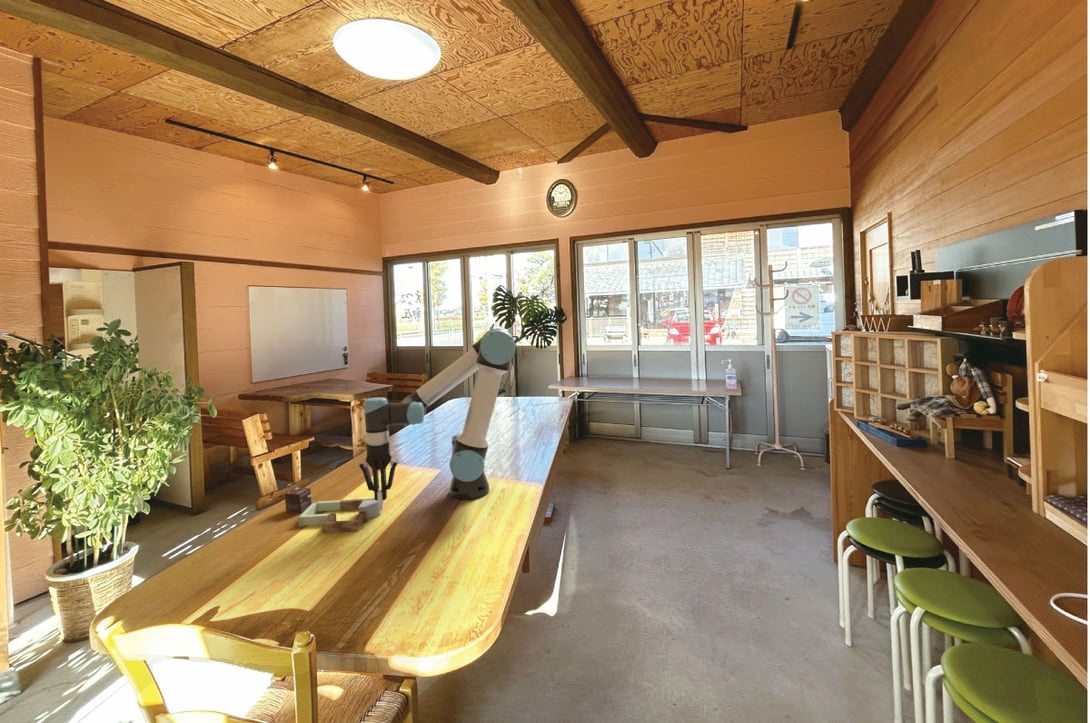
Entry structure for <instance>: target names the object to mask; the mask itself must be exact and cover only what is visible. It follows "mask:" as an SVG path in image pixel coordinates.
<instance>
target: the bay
mask: <svg viewBox="0 0 1090 723" xmlns="http://www.w3.org/2000/svg"><path fill="white" fill-rule="evenodd" d="M340 501H341V499H339V500H323V501H320V500H319V501H313V502H311V503H312V504H311V505H310V506H309V507H308V508H307V509H306V510H305V511H304V512H303V513H301V514H299V516H298V527H305V525H308V526H322V524H323V523H324V521H325V520H326V519H327V518H328V515H329V514H330V513H320V514H319V513H318V512H329V511H331V512H332V511H342V510H341V509H340Z"/></svg>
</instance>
